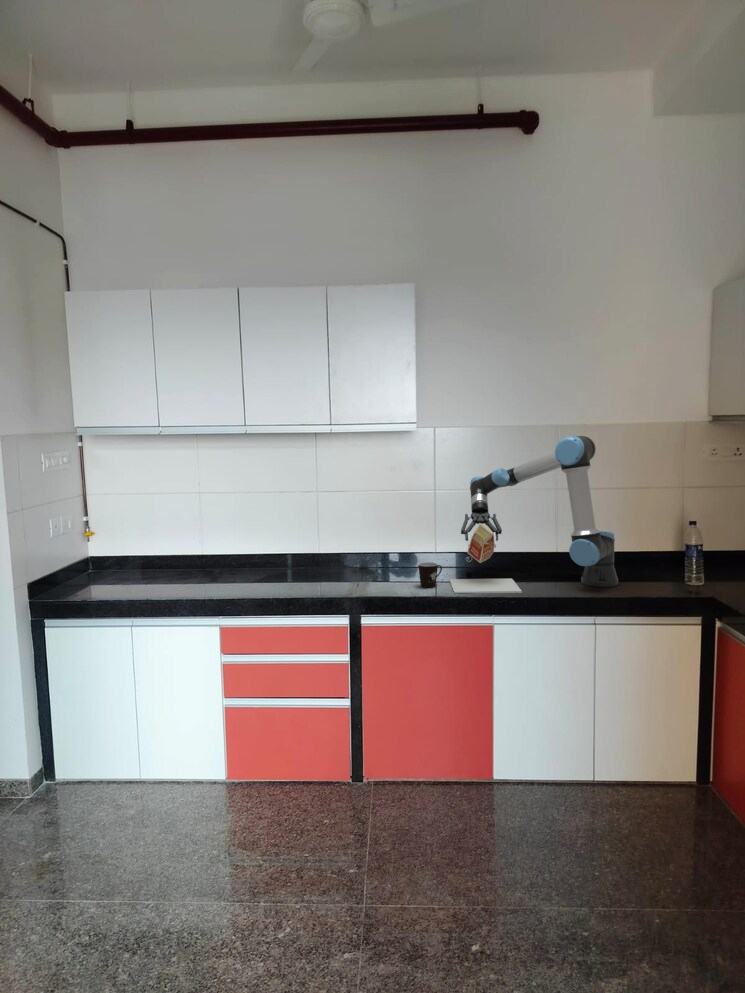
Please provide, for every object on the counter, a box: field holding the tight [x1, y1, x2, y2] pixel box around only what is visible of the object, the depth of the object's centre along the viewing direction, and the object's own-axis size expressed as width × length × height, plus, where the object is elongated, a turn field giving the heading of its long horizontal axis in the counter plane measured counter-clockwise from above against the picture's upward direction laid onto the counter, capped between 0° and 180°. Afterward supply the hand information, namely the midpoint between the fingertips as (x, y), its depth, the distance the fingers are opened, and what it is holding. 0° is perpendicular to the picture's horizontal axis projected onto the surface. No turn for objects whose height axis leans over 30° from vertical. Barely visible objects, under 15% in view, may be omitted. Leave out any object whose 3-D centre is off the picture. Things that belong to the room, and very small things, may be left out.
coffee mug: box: [417, 561, 443, 589], centre depth 281 cm, size 12×9×10 cm
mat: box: [449, 578, 523, 594], centre depth 279 cm, size 28×23×1 cm
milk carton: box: [466, 523, 495, 564], centre depth 282 cm, size 9×9×20 cm
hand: (482, 546), depth 279 cm, fingers closed on milk carton, 10 cm apart
